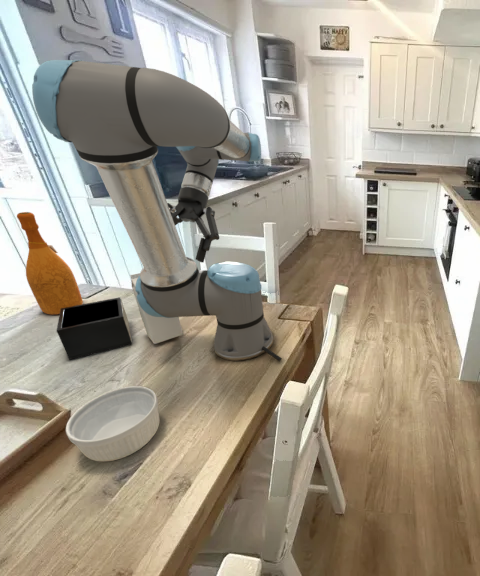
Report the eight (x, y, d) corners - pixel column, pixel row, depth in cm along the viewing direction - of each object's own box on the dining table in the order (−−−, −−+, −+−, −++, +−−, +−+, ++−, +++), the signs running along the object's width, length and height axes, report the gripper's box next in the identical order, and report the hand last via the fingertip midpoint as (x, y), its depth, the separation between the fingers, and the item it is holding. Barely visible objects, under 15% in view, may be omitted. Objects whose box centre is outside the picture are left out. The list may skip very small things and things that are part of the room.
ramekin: (66, 479, 54) (50, 452, 51) (92, 420, 65) (80, 394, 62) (159, 454, 59) (149, 428, 56) (169, 403, 70) (162, 379, 67)
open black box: (132, 344, 87) (123, 316, 84) (69, 360, 80) (56, 330, 76) (129, 323, 96) (120, 297, 92) (72, 336, 89) (60, 308, 85)
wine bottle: (90, 307, 102) (54, 212, 89) (48, 319, 95) (3, 218, 82) (77, 297, 107) (42, 206, 94) (36, 309, 99) (-8, 211, 86)
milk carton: (183, 334, 91) (166, 271, 85) (154, 344, 87) (133, 278, 80) (175, 327, 96) (158, 266, 89) (147, 336, 91) (127, 272, 84)
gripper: (240, 202, 100) (225, 266, 95) (164, 195, 102) (144, 259, 96) (229, 189, 93) (211, 258, 88) (146, 182, 94) (124, 249, 89)
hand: (176, 258), depth 92 cm, fingers open, 13 cm apart
